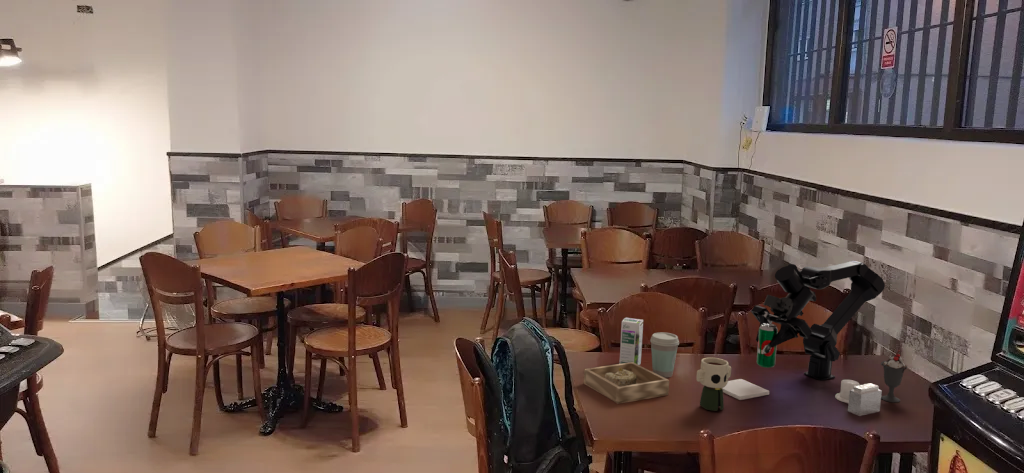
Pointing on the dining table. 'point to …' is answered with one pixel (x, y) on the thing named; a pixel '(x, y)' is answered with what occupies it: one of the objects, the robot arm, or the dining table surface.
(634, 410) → the dining table surface
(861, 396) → the napkin holder
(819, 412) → the dining table surface
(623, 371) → the coiled snake
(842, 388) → the white flanged peg
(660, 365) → the coffee cup
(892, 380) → the sundae
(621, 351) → the syrup box
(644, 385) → the bread tray
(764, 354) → the soda can
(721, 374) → the character mug
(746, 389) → the coaster
